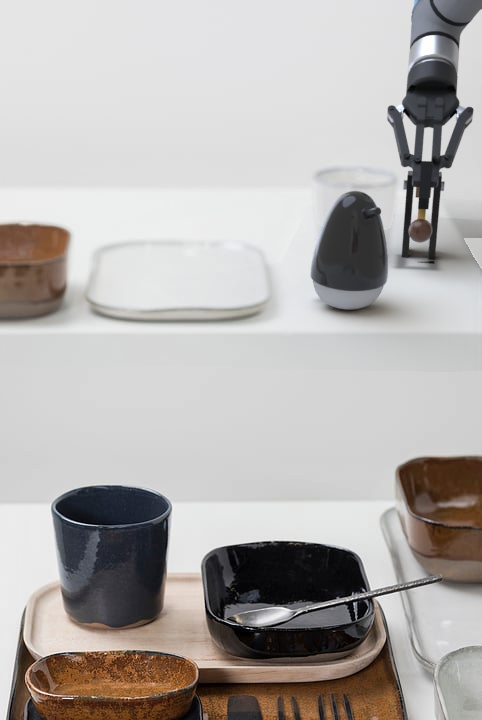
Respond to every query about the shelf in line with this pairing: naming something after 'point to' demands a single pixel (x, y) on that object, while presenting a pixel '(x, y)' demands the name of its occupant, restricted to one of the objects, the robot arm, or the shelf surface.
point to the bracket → (434, 217)
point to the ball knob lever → (420, 225)
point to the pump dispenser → (351, 253)
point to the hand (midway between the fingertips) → (423, 203)
